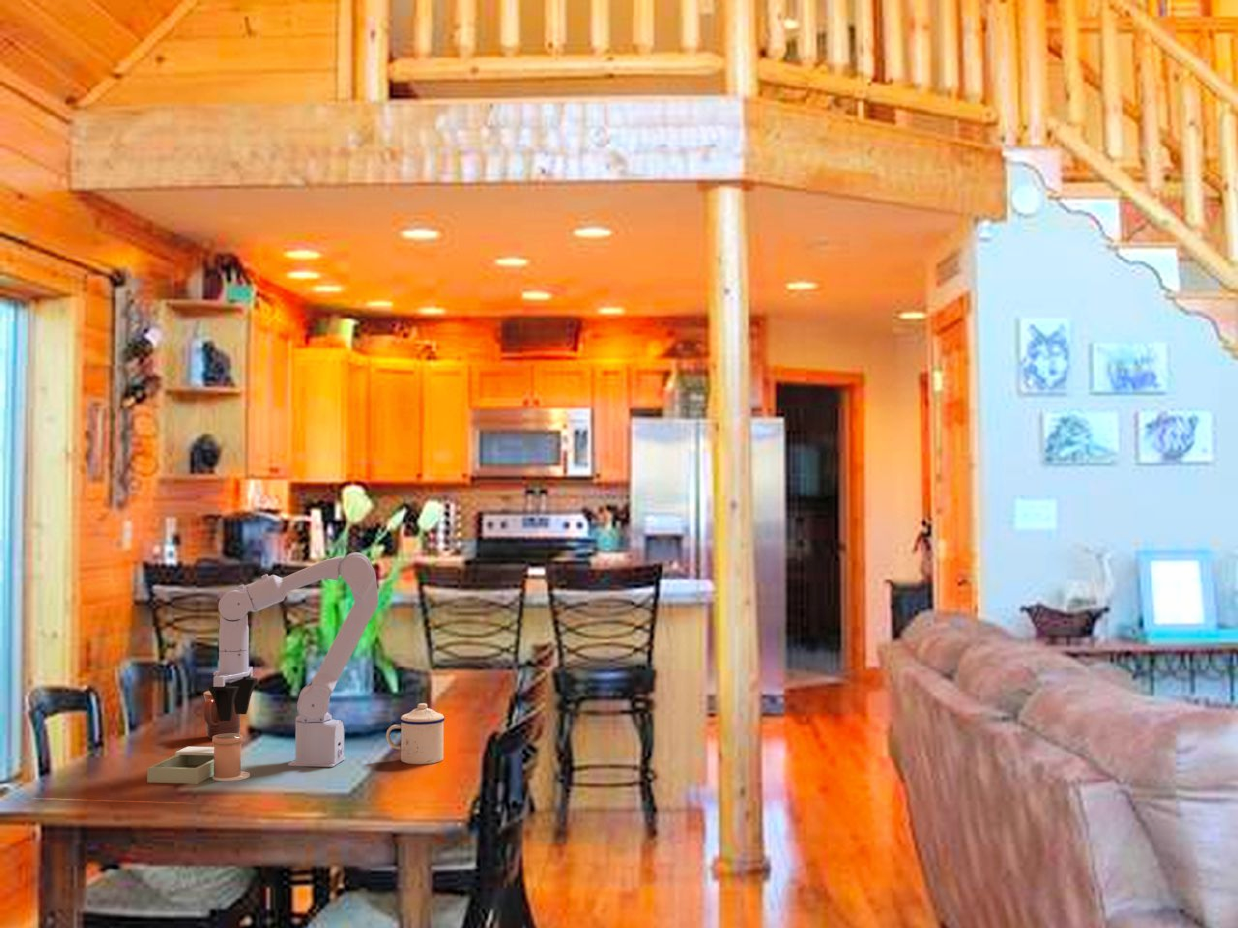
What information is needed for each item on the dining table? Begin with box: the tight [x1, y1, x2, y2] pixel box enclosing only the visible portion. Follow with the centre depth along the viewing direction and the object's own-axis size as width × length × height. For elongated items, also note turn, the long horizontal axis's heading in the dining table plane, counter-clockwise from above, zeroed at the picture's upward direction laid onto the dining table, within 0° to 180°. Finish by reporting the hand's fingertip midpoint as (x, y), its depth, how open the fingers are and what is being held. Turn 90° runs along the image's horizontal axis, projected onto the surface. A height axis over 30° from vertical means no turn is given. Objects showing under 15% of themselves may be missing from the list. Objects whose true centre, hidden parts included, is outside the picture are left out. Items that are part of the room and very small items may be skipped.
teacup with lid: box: [385, 702, 446, 765], centre depth 256 cm, size 12×9×12 cm
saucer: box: [211, 770, 251, 782], centre depth 240 cm, size 7×7×1 cm
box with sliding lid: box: [146, 746, 214, 784], centre depth 243 cm, size 11×18×4 cm, turn 174°
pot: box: [211, 733, 244, 778], centre depth 240 cm, size 6×6×8 cm
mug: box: [203, 690, 242, 740], centre depth 279 cm, size 12×9×10 cm
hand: (233, 717), depth 250 cm, fingers open, 7 cm apart
